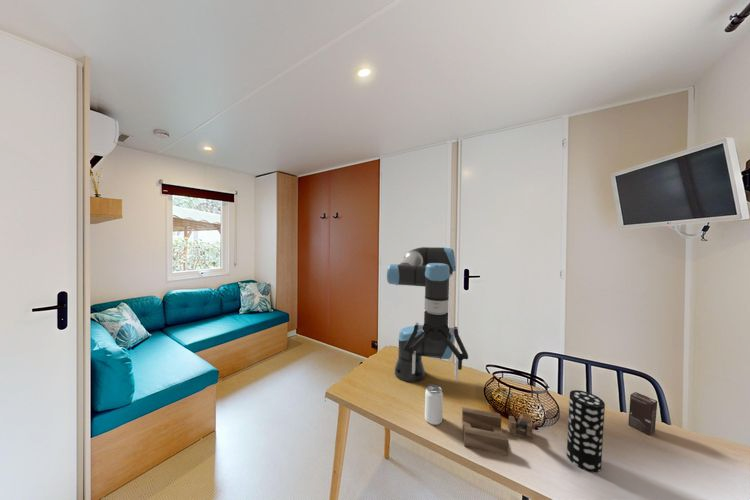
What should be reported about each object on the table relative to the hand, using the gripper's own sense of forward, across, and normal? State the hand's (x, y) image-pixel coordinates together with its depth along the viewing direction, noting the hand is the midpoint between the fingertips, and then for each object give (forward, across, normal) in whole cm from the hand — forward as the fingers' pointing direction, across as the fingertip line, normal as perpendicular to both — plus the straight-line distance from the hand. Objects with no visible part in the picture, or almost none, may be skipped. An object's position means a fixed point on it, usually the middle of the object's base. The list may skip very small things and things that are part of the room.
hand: (434, 375), depth 83 cm
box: (+24, +74, +29) cm, 83 cm away
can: (+24, 0, +12) cm, 27 cm away
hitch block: (+24, +22, +9) cm, 34 cm away
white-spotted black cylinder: (+24, +46, +7) cm, 52 cm away
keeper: (+18, +30, +11) cm, 37 cm away
